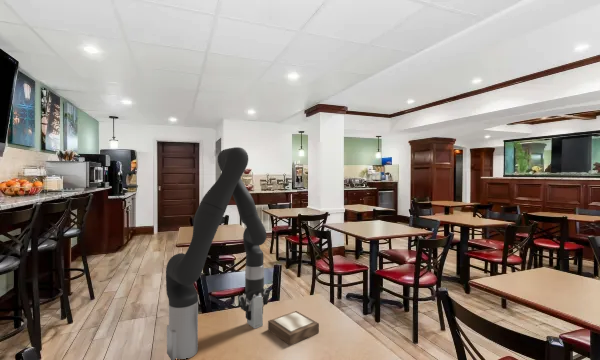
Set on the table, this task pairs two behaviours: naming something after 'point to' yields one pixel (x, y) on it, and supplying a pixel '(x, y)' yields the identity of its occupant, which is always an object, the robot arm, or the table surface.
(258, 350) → the table surface
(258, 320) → the skincare box
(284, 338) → the walnut stand
